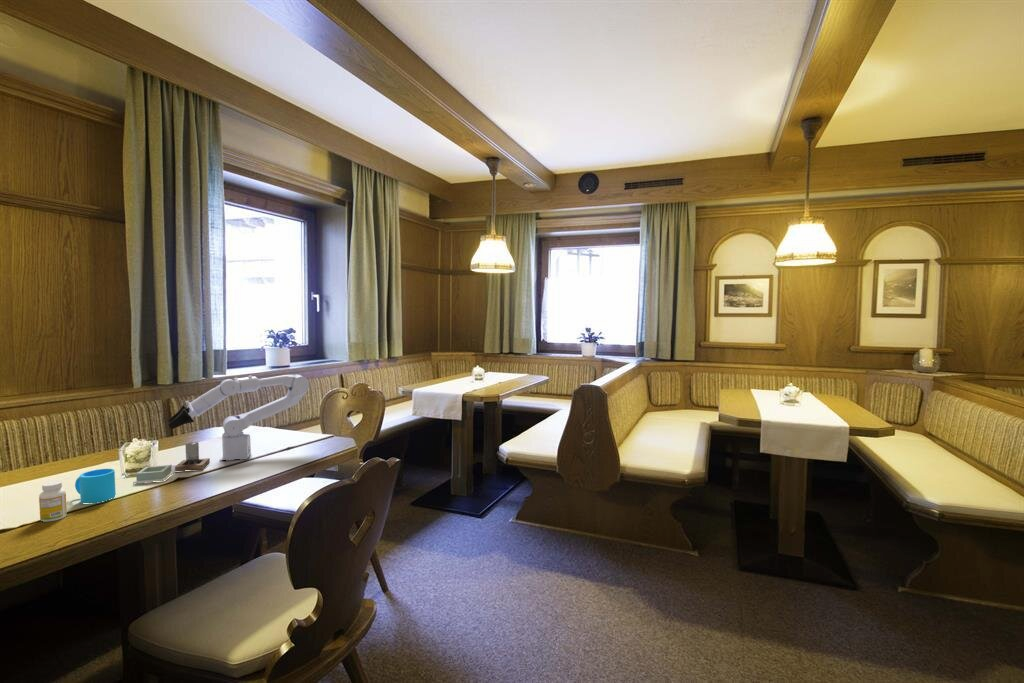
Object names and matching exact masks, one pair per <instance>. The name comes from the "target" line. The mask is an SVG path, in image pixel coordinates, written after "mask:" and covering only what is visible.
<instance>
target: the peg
mask: <svg viewBox="0 0 1024 683" xmlns="http://www.w3.org/2000/svg"><path fill="white" fill-rule="evenodd" d="M199 443H200V442H198V441H192V442H187V443H185V460H186V465H192V464H199V459H200V452H199V451H200V449H199V448H200V447H199V446H200V445H199Z"/></svg>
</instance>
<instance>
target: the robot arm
mask: <svg viewBox="0 0 1024 683" xmlns="http://www.w3.org/2000/svg"><path fill="white" fill-rule="evenodd" d="M274 386H285V387H287V388H288V389H287V392H286V394H285V396H282V397H280V398H278V399H276V400H274V401H270V402H267V403H266V404H264V405H262V406H260V407H259V406H258V407H257V408H255V409H253V410H250V411H247V412H244V413H241V414H240V413H239V414H238V415H229V416H227V417H225V418H224V420H223V421H222V428H223V430H224V433H222V435H221V440H222V442H221V443H222V444H221V445H222V456H221V457H220V459H219V460H220V461H219V462H223V461H222V460H226V461H235V460H234V459H240V460H247V459H249V457H250V456H251V454H252V450H251V444H252V442H251V434H247V433H246V434H245V433H244V430H246V429H248V428H249V427H250V426H251V425H253V424H255V423H259V422H261V421H262V420H264V419H267V418H269V417H272V416H274V415H276V414H278V413H280V412H284V411H285V410H287V409H289V408H292V407H294V406H297V404H299V402H300V401H301V399H302V398H303V397H304V396H305V394H306V393H308V392H309V391H308V390H309V388H310V381H309V379H308V378H307V377H305V376H303V375H301V374H298V373H297V374H282V375H277V376H270V377H265V378H258V377H257V376H255V375H254V376H253V375H248V376H247V377H240V378H238V377H234V378H233V379H232V378H231V379H230V378H227V379H223V380H222V381H221V382H220V383H219V384H218V385H216V386H215V387H214V388H211V389H210V390H208V391H206V392H205V393H203V394H202V395H200V396H199V397H197V398H195V399H193V400H191V402H189V400H185V403H186V405H187V406H185V405H184V404H182V405H181V407H180V408H179V409H178V410H177V411H176V413H174V414H173V415H172V416H171V417H170V418H169V419H168V420H167V422H169V423H168V424H167V425H168V427H169V428H170V429H171V430H174V429H177V428H178V427H181V426H183V425H186V424H192V423H194V422H195V420H194V419H193V418H194V417H197V418H198V417H200V416H201V415H202V414H204V413H206V412H207V411H209V410H210V409H211V408H213V407H215V406H216V405H218V404H219V403H221V402H222V401H223V400H224V399H226V398H228V397H229V396H235V395H236V394H243V393H250V392H257V391H258V390H259V389H260V388H262V387H263V388H264V387H274ZM249 455H250V456H249Z"/></svg>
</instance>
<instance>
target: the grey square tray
mask: <svg viewBox="0 0 1024 683" xmlns="http://www.w3.org/2000/svg"><path fill="white" fill-rule="evenodd" d="M172 469H173V468H172V464H165V465H164V464H163V465H153V466H152V465H151V466H145V467H144V468H141V470H139V471H137V473H136V474H135V475H136V477H135V478H136V479H135V480H134V481H133V482H132V483H133V484H132V485H135V484H134V483H144V484H146V483H145V482H153V481H164V480H166V479H167V478H168V477H169V476H170V475H172V474H173V473H174V472H175V470H174V471H172ZM175 473H176V472H175ZM172 476H173V475H172Z"/></svg>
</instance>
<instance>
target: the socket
mask: <svg viewBox="0 0 1024 683" xmlns="http://www.w3.org/2000/svg"><path fill="white" fill-rule="evenodd" d="M210 461H211V460H210V458H209V457H207V458H205V457H204V458H199V464H192V465H186V459H183V460H181V461H180V462H178V463H177V465H175V466H174V471H185V470H201V471H204V470H205V469H206V468H207V467H208V466H209V465H210V464H211V462H210ZM209 463H210V464H209ZM208 464H209V465H208ZM207 465H208V466H207ZM206 466H207V467H206ZM205 467H206V468H205ZM204 468H205V469H204ZM203 469H204V470H203Z"/></svg>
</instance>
